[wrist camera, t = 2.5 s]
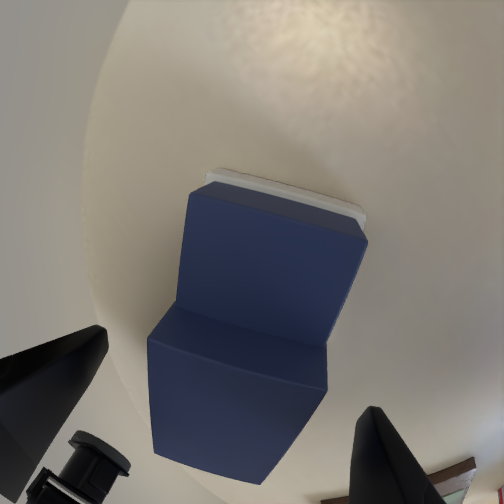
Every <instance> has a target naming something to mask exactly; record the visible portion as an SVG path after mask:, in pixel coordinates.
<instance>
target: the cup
mask: <svg viewBox="0 0 504 504" xmlns="http://www.w3.org/2000/svg"><path fill="white" fill-rule="evenodd" d="M498 496H499V504H504V486H503V487H502V488H501V489H500V490H499V491H498Z"/></svg>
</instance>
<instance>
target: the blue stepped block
mask: <svg viewBox="0 0 504 504" xmlns="http://www.w3.org/2000/svg"><path fill="white" fill-rule="evenodd" d="M366 218H367V215H366V213H365V212H364V210H363V209H362V208H361V207H360V206H359V205H355V204H352V203H349V202H346V201H343V200H339V199H336V198H333V197H329V196H326V195H322V194H319V193H316V192H312V191H308V190H305V189H301V188H298V187H294V186H290V185H286V184H283V183H279V182H275V181H271V180H267V179H263V178H259V177H255V176H251V175H247V174H243V173H238V172H234V171H230V170H225V169H221V168H217V169H214V170H211V171H209V172H207V173H206V176H205V181H204V186H203V187H201V188H199V189H197V190H195V191H193V192H191V193H190V195H189V199H188V205H187V212H186V219H185V226H184V234H183V241H182V249H181V257H180V266H179V275H178V284H177V294H176V301H175V302H174V303H173V305H172V306H171V307H170V309H169V310H168V311H167V313H166V314H165V315H164V317H163V318H162V319H161V321H160V322H159V323H158V324H157V326H156V327H155V328H154V330H153V331H152V332H151V334H150V335H149V336H148V338H147V360H148V387H149V404H150V417H151V429H152V438H153V448H154V453H155V454H158V455H160V456H163V457H165V458H168V459H170V460H173V461H176V462H179V463H181V464H184V465H187V466H190V467H193V468H196V469H199V470H203V471H206V472H209V473H213V474H216V475H220V476H223V477H227V478H231V479H235V480H239V481H243V482H248V483H252V484H257V485H261V483H262V482H263V481H264V480H265V479H266V477H267V476H268V475H269V474H270V472H271V471H272V470H273V469H274V467H275V466H276V465H277V463H278V462H279V461H280V460H281V458H282V457H283V456H284V454H285V453H286V452H287V450H288V449H289V448H290V446H291V445H292V443H293V442H294V441H295V439H296V438H297V436H298V435H299V434H300V432H301V431H302V429H303V428H304V426H305V425H306V423H307V422H308V421H309V419H310V418H311V416H312V415H313V413H314V412H315V410H316V408H317V407H318V405H319V404H320V402H321V401H322V399H323V397H324V396H325V394H326V393H327V391H328V384H327V343H326V342H327V340H328V338H329V336H330V334H331V332H332V330H333V327H334V325H335V323H336V321H337V319H338V316H339V314H340V312H341V310H342V307H343V305H344V303H345V300H346V298H347V296H348V293H349V291H350V289H351V286H352V284H353V281H354V279H355V276H356V274H357V271H358V269H359V266H360V264H361V261H362V259H363V256H364V253H365V251H366V248H367V245H368V240H367V238H366V236H365V235H364V233H363V231H362V230H363V227H364V224H365V221H366Z"/></svg>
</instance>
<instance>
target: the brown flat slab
mask: <svg viewBox="0 0 504 504" xmlns="http://www.w3.org/2000/svg"><path fill="white" fill-rule="evenodd" d="M475 470H476V464H475V460H474V457H473V458H471V459H468V460H466V461H464V462H462V463H459V464H457V465H455V466H452V467H450V468H447V469H445V470H442V471H440V472H437V473H434V474H432V475H429V476H428V478H429V481H431V482H432V484H433V485H434V487H435V488H436V490H437V491H438V493H439V494H440V495H441V497H442V498H443V499H444V501H445V502H446V503H447V504H462V502H463V500H464V498H465V495H466V493H467V491H468V488H469V486H470V483H471V481H472V478H473V475H474V473H475ZM348 502H349V497H343V498H337V499H330V500H322V501H321V504H348Z"/></svg>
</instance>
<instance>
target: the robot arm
mask: <svg viewBox="0 0 504 504" xmlns="http://www.w3.org/2000/svg"><path fill="white" fill-rule="evenodd" d="M108 348H109V343H108V335H107V330H106V329H105V328H103V327H101V326H99V325H93V326H90V327H87V328H85V329H82V330H79V331H77V332H74V333H71V334H69V335H66V336H63V337H60V338H57V339H55V340H52V341H50V342H46V343H44V344H41V345H38V346H35V347H33V348H30V349H27V350H24V351H21V352H19V353H16V354H13V356H12V355H10V356H7V357H4V358H2V359H0V494H1V495H3V496H4V497H6V498H7V499H9V500H10V501H12V502H13V503H16V502H17V500H18V498H19V497H20V495H21V493H22V491H23V490H24V488H25V486H26V484H27V483H28V481H29V479H30V477H31V476H32V474H33V472H34V471H35V469H36V467H37V465H38V464H39V462H40V460H41V459H42V457H43V455H44V454H45V452H46V451H47V449H48V447H49V446H50V444H51V443H52V441H53V439H54V438H55V436H56V435H57V433H58V432H59V430H60V428H61V427H62V425H63V424H64V422H65V421H66V419H67V418H68V416H69V415H70V413H71V412H72V410H73V409H74V407H75V406H76V404H77V402H78V401H79V400H80V398H81V397H82V395H83V394H84V392H85V391H86V389H87V388H88V386H89V385H90V383H91V381H92V380H93V378H94V376H95V374H96V372H97V370H98V368H99V366H100V365H101V363H102V361H103V359H104V357H105V355H106V354H107V352H108ZM68 443H69V444H70V445H71V446H72V447H73V448H75V449H76V450H75V452H74V453H73V455H72V456H71V457H70V459H69V461H68V462H67V464H66V465H65V467H64V468H63V470H62V471H61V473H60V474H59V476H58V477H57V476H56V475H55V474H54V473H52V471H50V470H49V469H48V470H47V469H46V468H45V467H43V468H42V470H41V471H40V473H39V474H38V476H37V477H36V478H35V480H34V481H33V482H32V484H31V485H30V486H29V488H28V489H27V490H26V493H27V496H28V497H27V500H28V501H27V503H26V504H80V503H79V502H77V501H75V500H74V499H72V498H71V497H69V496H68V495H66V494H65V493H63V492H62V491H61V490H59V489H58V488H56V487H55V486H54V485H52V484H51V483H49V482H48V479H50V480H52V481H53V482H54V483H56V484H57V485H58V486H60V487H61V488H63V489H64V490H65V491H67V492H68V493H70V494H71V495H73V496H75V497H76V498H78V499H79V500H81V501H82V502H84V503H86V504H102V502H103V501H104V499H105V497H106V495H107V494H108V493H109V491H110V489H111V488H112V486H113V484H114V482H115V480H116V478H117V476H118V475H120V476H125V477H129V475H130V474H129V473H127V472H126V471H125V470H124V469H122V468H121V467H120V466H118V465H117V464H116V463H115V462H113V461H112V460H111V459H110V458H109V457H107V456H106V455H105V454H104V453H103V452H101V451H100V450H99V449H98V448H97V447H96V446H94V445H92V444H88V443H83V442H78V441H73V440H69V441H68ZM43 487H44V488H43ZM348 504H447V503H446V502H445V501H444V499H443V498H442V497H441V495H440V494H439V493H438V491H437V490H436V488H435V487H434V485H433V484H432V482H431V481H429V478H428V476H427V475H426V473H425V472H424V470H423V469H422V467H421V466H420V464H419V463H418V461H417V460H416V458H415V457H414V456H413V454H412V453H411V451H410V450H409V448H408V447H407V445H406V444H405V442H404V441H403V439H402V438H401V436H400V435H399V433H398V432H397V431H396V429H395V428H394V426H393V425H392V423H391V422H390V420H389V419H388V417H387V416H386V414H385V413H384V412H383V410H382V409H381V408H380V407H375V406H369V407H367V409H366V410H365V411H364V412H363V414H362V415H361V416H360V417H359V419H358V420H357V423H356V427H355V436H354V443H353V450H352V457H351V467H350V487H349V502H348Z"/></svg>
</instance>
